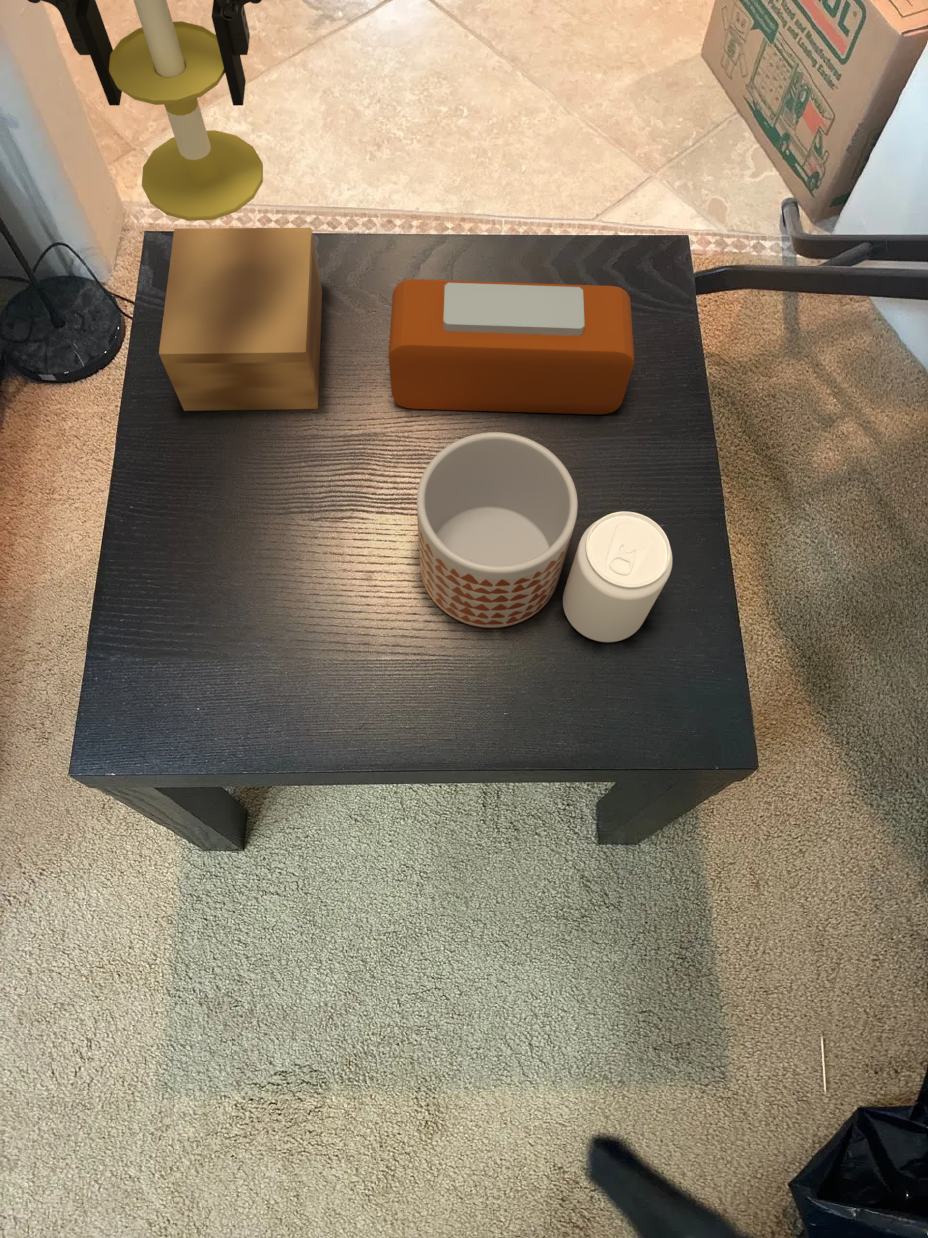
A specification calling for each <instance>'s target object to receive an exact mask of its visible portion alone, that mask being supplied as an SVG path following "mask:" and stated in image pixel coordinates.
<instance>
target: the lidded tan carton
mask: <svg viewBox="0 0 928 1238" xmlns="http://www.w3.org/2000/svg"><path fill="white" fill-rule="evenodd" d="M167 275H168V276H167V284H166V291H165V298H164V299H165V300H164V309H163V316H162V325H161V332H160V339H159V348H158V350H159V351H158V355H159V357H160V360H161V362H162V364H163V367H164V369H165V371H166V374H167V376H168V378H169V381H170V383H171V385H172V387H173V390H174V392H175V393H176V396H177V398H178V401H179V403H180V405H181V407H182V409H183V411H184V412H195V411H197V412H201V411H261V410H262V411H264V410H265V411H267V410H273V411H274V410H318V409H319V390H320V366H321V363H320V362H321V340H322V339H321V338H322V337H321V335H322V311H323V310H322V307H323V288H322V287H323V286H322V281H321V276H320V270H319V265H318V259H317V252H316V247H315V241H314V235H313V230H312V227H214V228H213V227H212V228H211V227H210V228H209V227H204V228H203V227H202V228H200V227H199V228H198V227H197V228H196V227H195V228H193V227H192V228H186V227H185V228H183V227H182V228H174V229H173V236H172V244H171V252H170V260H169V269H168V274H167Z"/></svg>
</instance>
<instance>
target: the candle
mask: <svg viewBox="0 0 928 1238" xmlns="http://www.w3.org/2000/svg"><path fill="white" fill-rule="evenodd" d="M133 3H134V6H135V9H136V14H137V16H138V19H139V22H140V26H141V27H138V28H136V29H135V30H133V31H132V32H130V33H129V34H127V35H126V36H124V37H123V38H121V39H120V40H119V41H118V43H117V44H116V46H115V47H114V48H113V51H112V53H111V55H110V62H109V72H110V74H111V76H112V78H113V80H114V82H115V84H116V86H117V87H118V89H120V90H121V91H122V93H124V94H125V95H127V96H128V97H130V98H131V99H133V100H134V101H137V102H142V103H146V104H151V105H154V106H161V105H162V106H163V105H164V108H165V111H166V114H167V118H168V121H169V124H170V127H171V130H172V133H173V137H171V138H169V139H167V140H166V141H164V142H163V143H162V144H160V145H159V146H158V147H157V148H155V149H154V150H152V152H151V154H150V155H149V157H148V158H147V160H146V162H145V163H144V164H143V166H142V175H141V187H142V188H141V189H142V190H143V191H144V193H145V196H146V198H147V199H148V202H149V203H150V204H151V206H154V207H155V208H156V209H157V210H159V211H161V213H164V214H165V215H166V216H169V217H173V218H177V219H180V220H184V221H187V222H194V221H195V222H196V221H213V220H217V219H220V218H223V217H225V216H229V215H232V214H235V213H236V212H238V211H239V210H240V209H242V208H243V207H244V206H246V205H247V204H248V203H250V202H251V201H252V200H254V198H255V197H256V196H257V194H258V191H259V190H260V188H261V187H262V185H263V183H264V163H263V161H262V159H261V158H260V156H259V154H258V152H257V151H256V149H255V147H254V146H253V145H251V144H250V143H249V142H247V141H245V140H244V139H242V138H241V137H239V136H238V135H236V134H233V133H228V132H224V131H220V130H216V129H215V130H214V129H213V130H211V129H210V130H207V128H206V125H205V121H204V117H203V115H202V110H201V107H200V103H199V99H198V98H201V97H202V96H205V94H207V93H209V92H210V91H211V90H213V89H214V88H215V87H217V86H218V85H219V83H220V82H221V80H222V78H223V77H224V75H226V74H225V70H224V66H223V62H222V58H221V54H220V50H219V45H218V41H217V37H216V33H215V32H212V31H211V30H209V29H208V28H206V27H204V26H203V25H198V24H195V23H192V22H191V23H190V22H188V21H187V22H186V21H182V20H181V21H179V20H177V21H173V18H172V14H171V12H170V7H169V4H168V1H167V0H133Z"/></svg>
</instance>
